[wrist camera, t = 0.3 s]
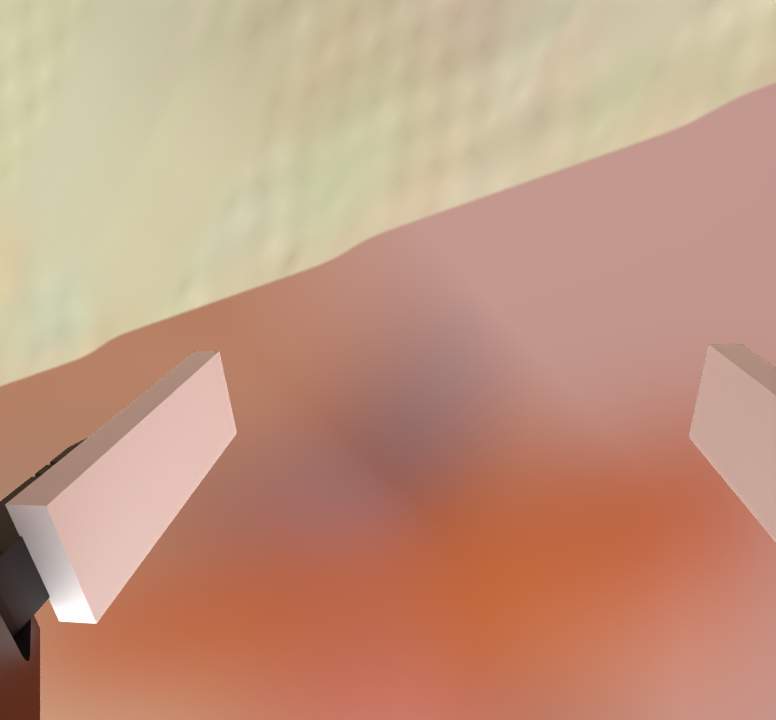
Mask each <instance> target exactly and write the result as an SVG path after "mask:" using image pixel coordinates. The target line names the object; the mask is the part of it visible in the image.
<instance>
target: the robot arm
mask: <svg viewBox="0 0 776 720" xmlns="http://www.w3.org/2000/svg"><path fill="white" fill-rule="evenodd" d="M236 433H237V432H236V427H235V422H234V418H233V413H232V409H231V404H230V399H229V394H228V390H227V385H226V381H225V376H224V371H223V366H222V362H221V357H220V352H219V351H203V352H202V351H199V352H193V353H192V354H191V355H190V356H188V357H187V358H186V359H184V360H183V361H182V362H181V363H180V364H179V365H177V366H176V367H175V368H173V369H172V370H171V371H170V372H168V373H167V374H166V375H165V376H163V377H162V378H161V379H160V380H159V381H157V382H156V383H155V384H154V385H152V386H151V387H150V388H149V389H147V390H146V391H145V392H144V393H142V394H141V395H140V396H139V397H137V399H135V400H134V401H133V402H131V403H130V404H129V405H128V406H126V407H125V408H124V409H123V410H121V411H120V412H119V413H118V414H116V415H115V416H114V417H113V418H112V419H110V420H109V421H108V422H107V423H105V424H104V425H103V426H102V427H100V428H99V429H98V430H97V431H95V432H94V433H93V434H92V435H91V436H89V437H88V438H86V439H84V440H82V441H80V442H79V443H76V444H74V445H73V446H71V447H69V448H67V449H66V450H65V451H63V452H62V453H61V454H60V455H58V456H57V457H56V458H55V459H53V460H52V461H51V462H50V465H46V466H45V467H43V468H42V469H41V470H39V471H38V472H37V473H36V474H35V477H31V478H30V479H28V480H27V481H26V482H24V483H23V484H22V485H21V486H19V487H18V488H17V489H16V490H14V491H13V492H12V493H10V494H9V495H8V496H7V497H6V498H4V499H3V500H2V501H0V720H40V628H39V626H38V623H37V621H36V619H35V616H34V614H35V613H36V612H37V611H38V610H39V609H40V607H41V606H42V605H43V604H44V603H45V602H46V600H47V599H48V598H49V600H50V602H51V605H52V606H53V609H54V611H55V613H56V615H57V617H58V619H59V621H63V622H80V623H95V624H96V623H97V622H98V621H99V619H100V618H101V617H102V615H103V614H104V613H105V611H106V610H107V609H108V607H109V606H110V604H111V603H112V602H113V600H114V599H115V598H116V596H117V595H118V594H119V592H120V591H121V590H122V588H123V587H124V585H125V584H126V583H127V581H128V580H129V579H130V577H131V576H132V575H133V573H134V572H135V570H136V569H137V568H138V566H139V565H140V564H141V562H142V561H143V560H144V558H145V557H146V556H147V554H148V553H149V552H150V550H151V549H152V547H153V546H154V545H155V543H156V542H157V541H158V539H159V538H160V537H161V535H162V534H163V533H164V531H165V530H166V528H167V527H168V526H169V524H170V523H171V522H172V520H173V519H174V517H175V516H176V515H177V514H178V512H179V511H180V510H181V508H182V506H183V505H184V504H185V502H186V501H187V500H188V499H189V497H190V496H191V495H192V493H193V492H194V491H195V489H196V488H197V486H198V485H199V484H200V482H201V481H202V480H203V478H204V477H205V476H206V474H207V473H208V472H209V470H210V469H211V467H212V466H213V465H214V463H215V462H216V460H217V459H218V458H219V456H220V455H221V454H222V452H223V451H224V450H225V448H226V447H227V446H228V444H229V443H230V442H231V440H232V439H233V438H234V436H235V435H236ZM689 438H690V439H691V440H692V442H693V443H694V444H695V445H696V446H697V448H698V449H699V450H700V451H701V452H702V454H704V456H705V457H706V458H707V460H708V461H709V462H710V463H711V464H712V466H713V467H714V468H715V469H716V471H717V472H718V473H719V474H720V475H721V477H722V478H723V479H724V480H725V481H726V483H727V484H728V485H729V486H730V487H731V489H732V490H733V491H734V492H735V494H736V495H737V496H738V497H739V498H740V500H741V501H742V502H743V503H744V504H745V505H746V507H747V508H748V509H749V510H750V512H751V513H752V514H753V515H754V517H755V518H756V519H757V520H758V521H759V523H760V524H761V525H762V526H763V527H764V529H765V530H766V531H767V532H768V534H769V535H770V536H771V537H772V538H773V540H774V541H775V542H776V367H775V366H773V365H772V364H770V363H769V362H767V361H766V360H764V359H763V358H761V357H760V356H758V355H757V354H755V353H754V352H753V351H751V350H750V349H748V348H747V347H745V346H744V345H742V344H712V345H711V344H710V345H709V346H708V350H707V355H706V360H705V364H704V369H703V374H702V378H701V383H700V388H699V392H698V397H697V402H696V406H695V411H694V416H693V421H692V425H691V430H690V434H689Z"/></svg>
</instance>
